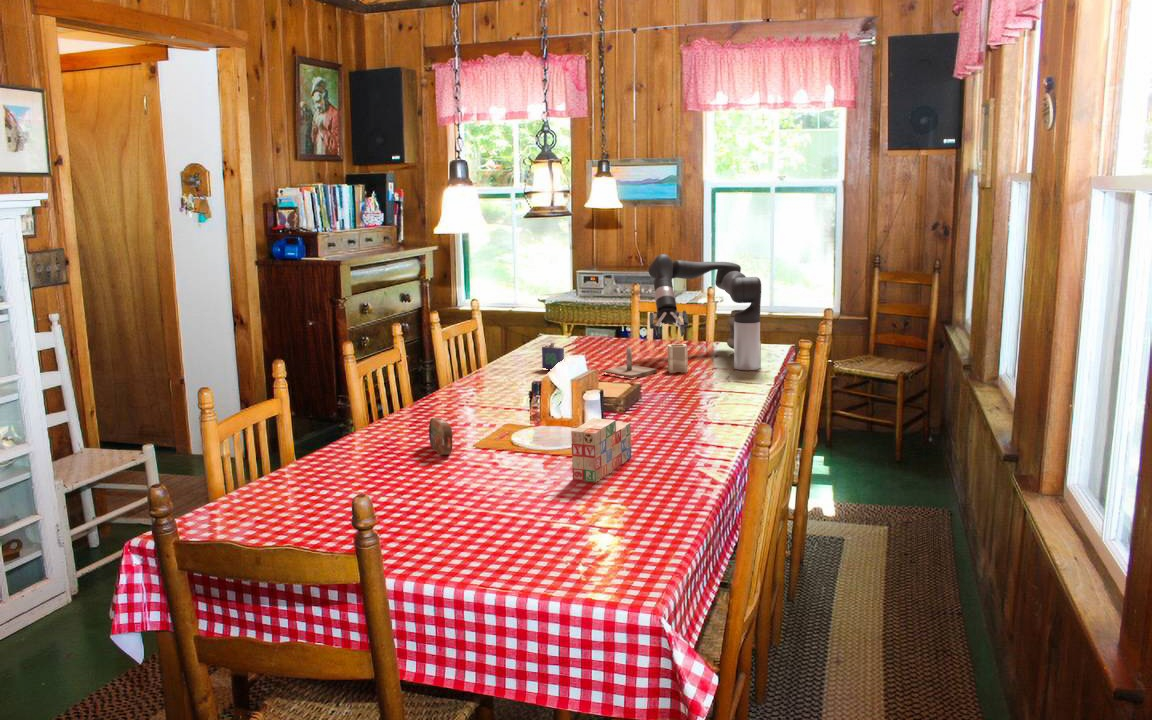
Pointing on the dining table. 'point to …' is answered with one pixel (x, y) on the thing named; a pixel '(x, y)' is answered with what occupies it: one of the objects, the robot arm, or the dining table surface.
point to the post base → (632, 372)
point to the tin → (440, 436)
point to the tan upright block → (677, 358)
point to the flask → (551, 355)
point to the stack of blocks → (599, 448)
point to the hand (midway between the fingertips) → (670, 335)
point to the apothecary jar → (732, 329)
